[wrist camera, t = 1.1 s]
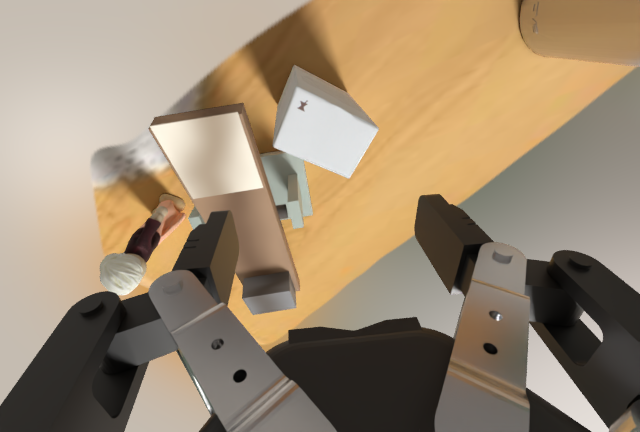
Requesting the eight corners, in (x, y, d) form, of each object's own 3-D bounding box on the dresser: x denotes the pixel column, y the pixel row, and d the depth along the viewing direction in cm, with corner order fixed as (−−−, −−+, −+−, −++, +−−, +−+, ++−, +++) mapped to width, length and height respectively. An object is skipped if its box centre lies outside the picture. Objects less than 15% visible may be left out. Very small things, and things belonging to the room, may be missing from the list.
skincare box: (276, 107, 29) (268, 146, 19) (293, 63, 27) (295, 82, 17) (330, 132, 31) (349, 181, 21) (350, 93, 29) (381, 126, 19)
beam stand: (301, 147, 32) (303, 173, 26) (312, 210, 36) (316, 246, 30) (190, 165, 32) (167, 195, 26) (214, 226, 36) (199, 264, 30)
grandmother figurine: (179, 237, 36) (132, 323, 26) (146, 226, 35) (82, 312, 25) (196, 186, 33) (151, 260, 22) (160, 172, 32) (94, 243, 21)
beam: (253, 89, 21) (249, 129, 17) (303, 269, 38) (307, 308, 34) (148, 106, 21) (123, 149, 17) (246, 278, 38) (243, 318, 34)
